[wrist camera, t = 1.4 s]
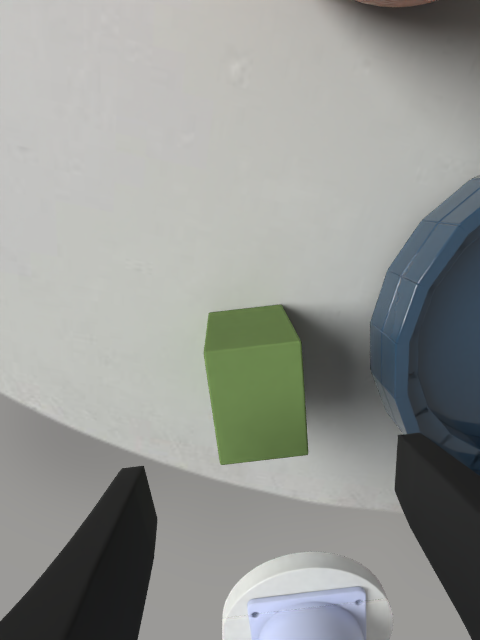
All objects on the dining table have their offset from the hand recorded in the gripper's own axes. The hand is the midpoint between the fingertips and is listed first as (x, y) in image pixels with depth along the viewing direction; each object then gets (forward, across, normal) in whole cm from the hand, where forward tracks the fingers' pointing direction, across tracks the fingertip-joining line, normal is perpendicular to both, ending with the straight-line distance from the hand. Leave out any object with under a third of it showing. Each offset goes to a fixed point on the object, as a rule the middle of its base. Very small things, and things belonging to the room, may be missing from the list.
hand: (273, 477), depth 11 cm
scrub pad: (+9, 0, +1) cm, 9 cm away
